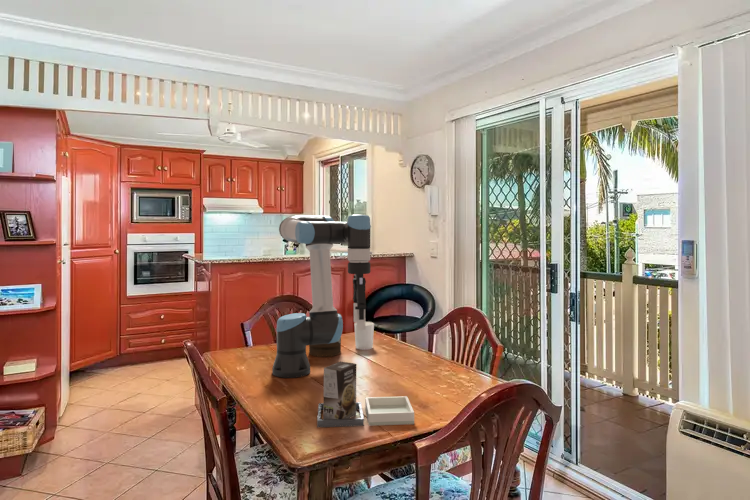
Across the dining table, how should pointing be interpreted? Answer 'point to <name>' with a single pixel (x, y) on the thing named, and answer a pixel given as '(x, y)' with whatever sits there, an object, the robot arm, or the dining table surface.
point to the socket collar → (340, 421)
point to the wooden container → (326, 349)
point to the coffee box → (339, 391)
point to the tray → (389, 410)
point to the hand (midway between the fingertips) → (359, 325)
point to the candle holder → (364, 336)
